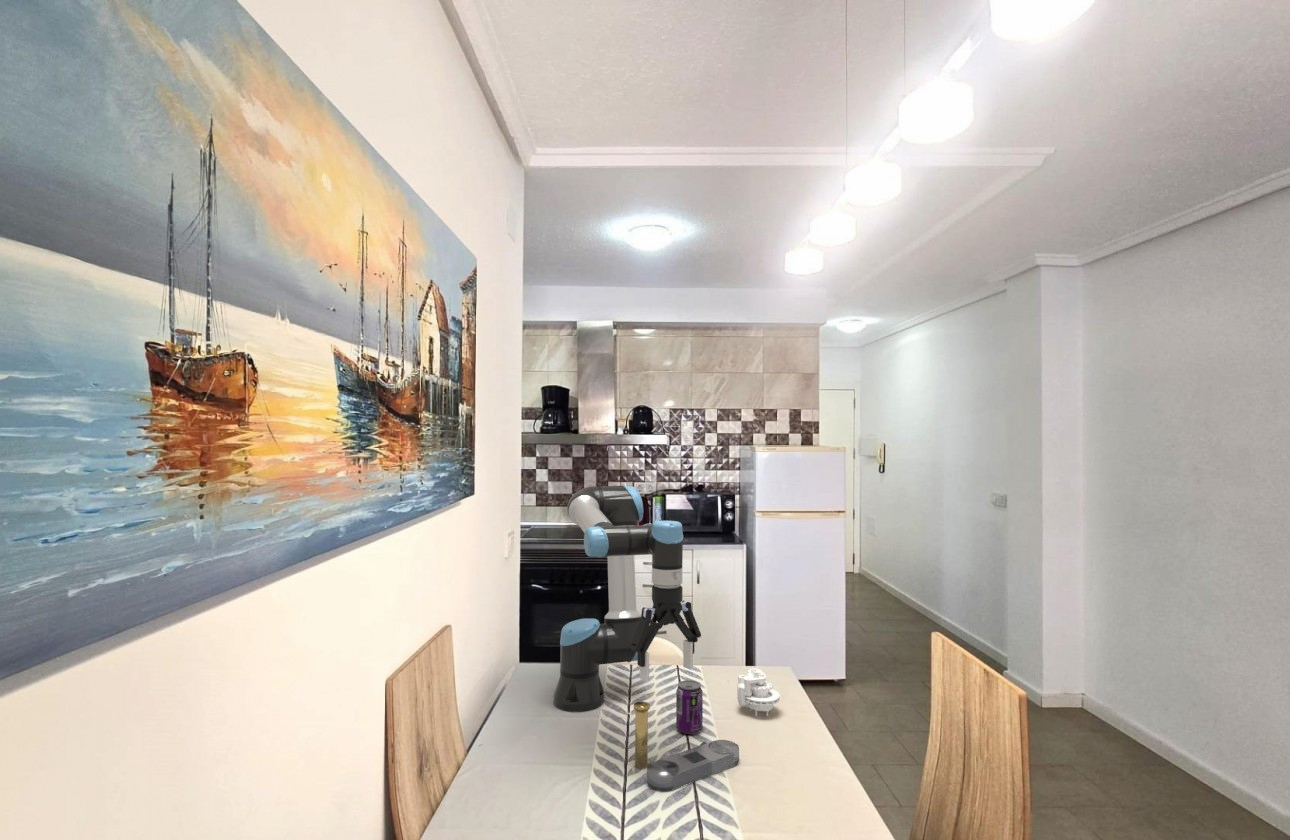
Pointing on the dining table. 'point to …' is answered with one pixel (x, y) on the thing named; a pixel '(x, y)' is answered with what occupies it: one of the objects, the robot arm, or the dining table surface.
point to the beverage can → (689, 707)
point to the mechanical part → (756, 692)
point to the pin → (641, 734)
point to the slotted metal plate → (692, 765)
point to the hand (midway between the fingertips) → (666, 673)
